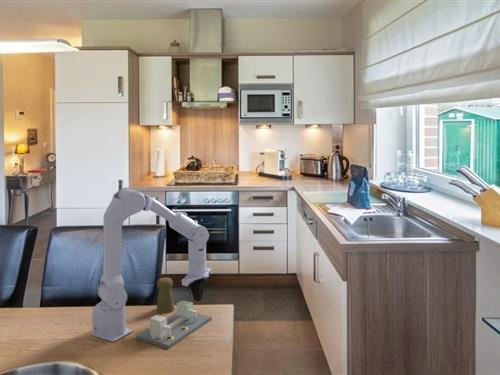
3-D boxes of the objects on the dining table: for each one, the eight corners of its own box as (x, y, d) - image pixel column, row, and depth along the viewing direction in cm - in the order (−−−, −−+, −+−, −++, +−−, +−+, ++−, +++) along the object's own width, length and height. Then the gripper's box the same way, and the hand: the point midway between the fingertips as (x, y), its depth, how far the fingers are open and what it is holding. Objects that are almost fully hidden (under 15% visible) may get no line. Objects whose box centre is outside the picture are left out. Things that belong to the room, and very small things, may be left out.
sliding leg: (177, 317, 145) (176, 303, 144) (182, 314, 147) (182, 300, 147) (193, 322, 142) (193, 307, 141) (199, 318, 144) (199, 304, 144)
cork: (172, 313, 152) (172, 281, 150) (154, 313, 152) (154, 281, 150) (175, 306, 158) (175, 275, 156) (158, 306, 158) (157, 275, 156)
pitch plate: (136, 338, 133) (135, 318, 133) (181, 312, 153) (181, 294, 152) (168, 348, 128) (168, 327, 127) (211, 319, 147) (211, 301, 146)
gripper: (194, 268, 141) (194, 310, 143) (219, 256, 153) (219, 295, 155) (176, 265, 144) (176, 305, 146) (202, 253, 157) (202, 291, 159)
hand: (197, 300), depth 151 cm, fingers closed
